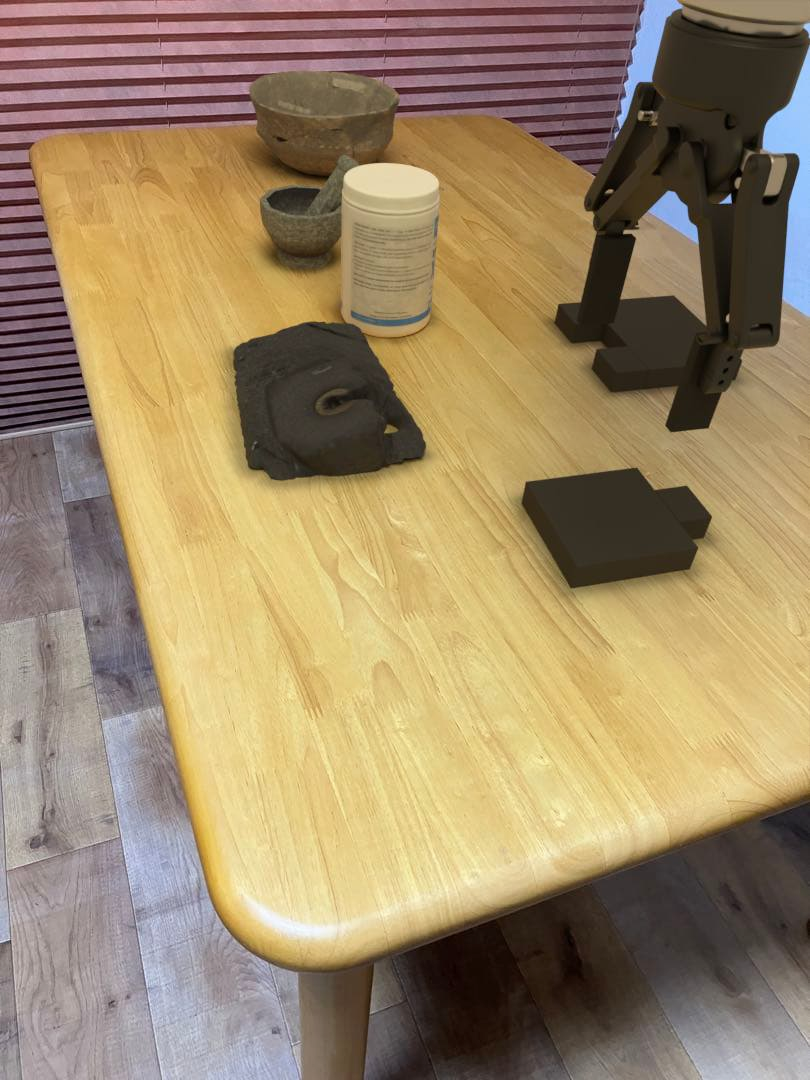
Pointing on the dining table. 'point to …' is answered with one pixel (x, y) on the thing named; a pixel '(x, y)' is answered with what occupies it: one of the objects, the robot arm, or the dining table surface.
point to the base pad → (638, 342)
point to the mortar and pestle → (306, 219)
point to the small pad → (615, 525)
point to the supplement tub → (388, 248)
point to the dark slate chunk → (319, 404)
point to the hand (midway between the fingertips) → (637, 371)
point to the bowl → (323, 118)
